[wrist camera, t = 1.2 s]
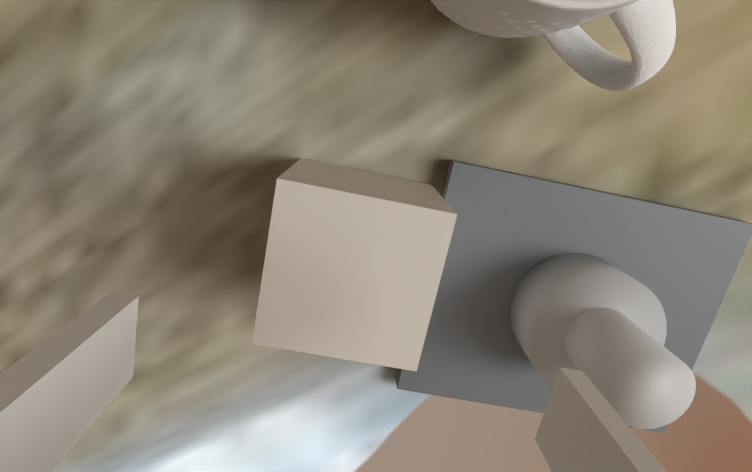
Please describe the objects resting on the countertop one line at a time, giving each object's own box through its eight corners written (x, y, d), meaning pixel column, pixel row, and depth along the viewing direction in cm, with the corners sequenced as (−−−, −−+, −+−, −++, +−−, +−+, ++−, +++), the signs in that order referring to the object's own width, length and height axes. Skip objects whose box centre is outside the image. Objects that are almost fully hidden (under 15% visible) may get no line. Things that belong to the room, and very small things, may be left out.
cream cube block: (280, 281, 31) (251, 343, 23) (301, 158, 29) (277, 178, 21) (402, 304, 32) (416, 371, 24) (431, 184, 29) (457, 214, 21)
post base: (396, 378, 33) (410, 497, 23) (450, 159, 29) (497, 187, 19) (654, 422, 35) (773, 551, 25) (740, 220, 31) (926, 275, 21)
